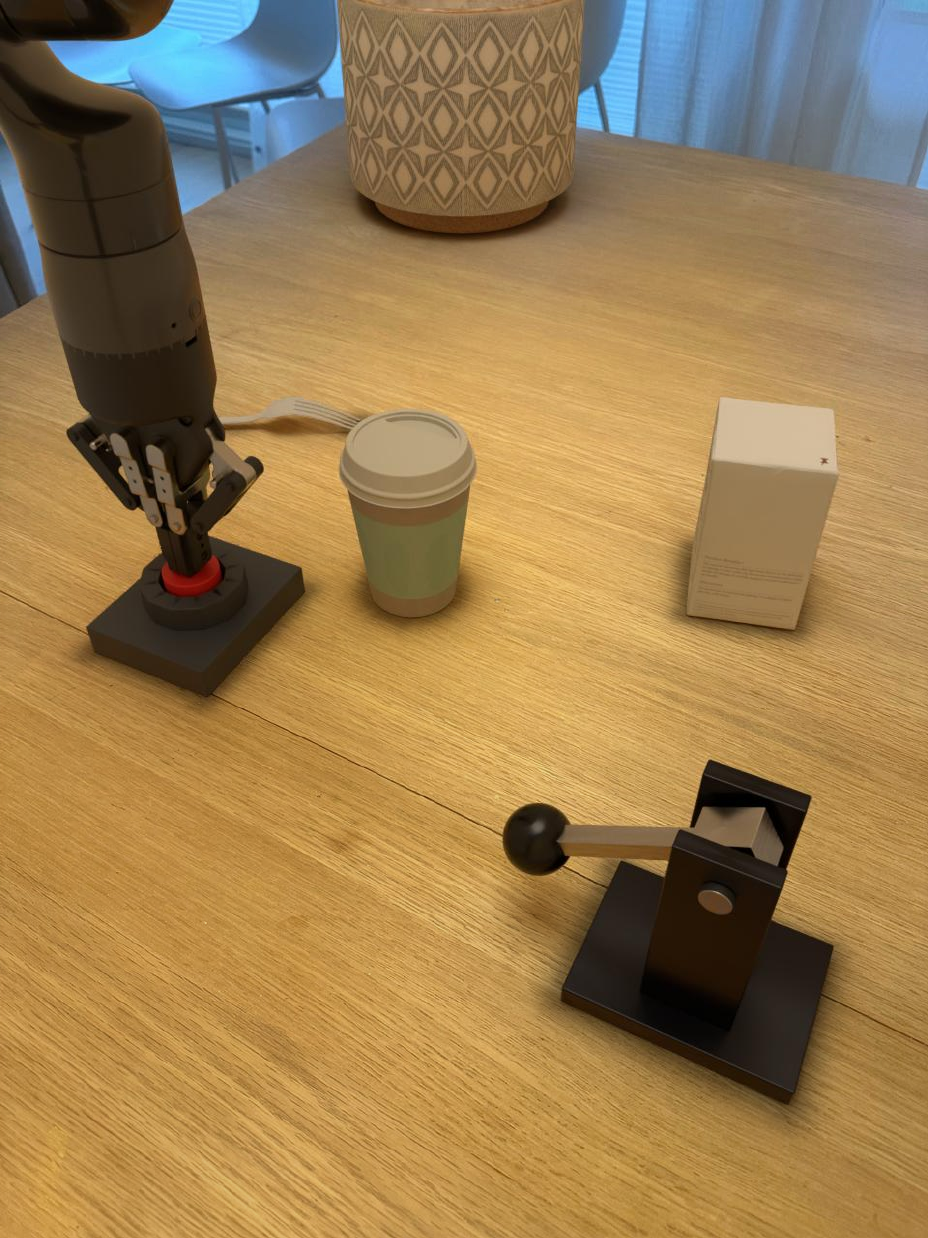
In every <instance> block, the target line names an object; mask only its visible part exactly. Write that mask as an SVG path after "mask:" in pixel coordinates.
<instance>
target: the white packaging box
mask: <svg viewBox="0 0 928 1238" xmlns="http://www.w3.org/2000/svg"><path fill="white" fill-rule="evenodd" d="M835 422H836V421H835V410H834V409H833V408H828V407H817V406H809V405H798V404H790V403H789V404H788V403H779V402H768V401H760V400H751V399H743V398H742V399H741V398H735V397H734V398H733V397H726V396H720V397H719V399H718V403H717V407H716V413H715V419H714V425H713V431H712V436H711V443H710V449H709V455H708V460H707V467H706V472H705V478H704V483H703V489H702V494H701V498H700V504H699V509H698V514H697V519H696V525H695V530H694V534H693V541H692V548H691V549H692V550H691V560H690V567H689V576H688V577H689V578H688V585H687V586H688V588H687V599H686V615H687V616H691V617H692V616H693V617H699V618H707V619H715V620H722V621H727V622H737V623H744V624H750V625H757V626H764V627H770V628H777V629H784V630H795V629H796V627H797V625H798V621H799V618H800V613H801V610H802V606H803V603H804V600H805V596H806V592H807V588H808V585H809V582H810V578H811V575H812V572H813V567H814V564H815V561H816V557H817V554H818V550H819V547H820V543H821V540H822V536H823V532H824V529H825V526H826V522H827V519H828V516H829V511H830V508H831V506H832V505H831V504H832V501H833V498H834V495H835V491H836V487H837V483H838V480H839V477H840V471H839V470H840V469H839V461H838V460H839V459H838V449H837V438H836V423H835Z"/></svg>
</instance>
